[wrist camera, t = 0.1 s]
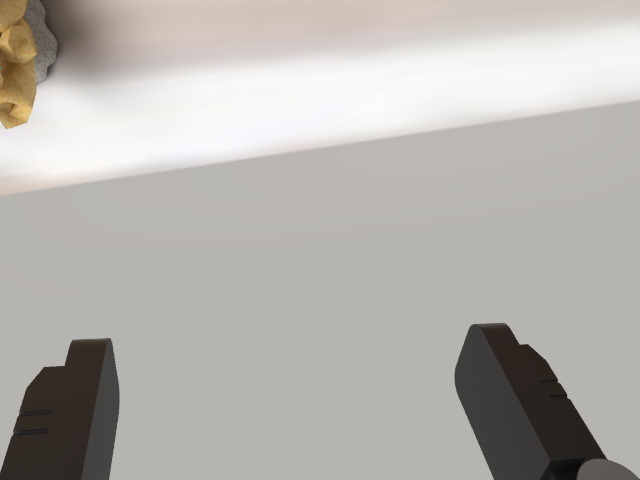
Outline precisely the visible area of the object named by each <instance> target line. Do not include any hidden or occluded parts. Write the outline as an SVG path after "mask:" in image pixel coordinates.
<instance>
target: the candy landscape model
mask: <svg viewBox="0 0 640 480" xmlns="http://www.w3.org/2000/svg"><path fill="white" fill-rule="evenodd" d="M45 15H46V11H45V8H44V6H43V5H42V3H41V2H40V1H39V0H0V121H1V123H2V124H3V125H4V127H5V128H6V129H9V128H12V127H15V126H18V125H21V124H23V123H26V122H27V120H28V117H29V115H30V113H31V110H32V107H33V103H34V99H35V95H36V84H38V83H39V82H41V81H43V80H44V79H45V78H46V77H47V68H48V66H49V65H51V64H52V63H53V62H55V60H56V51H57V47H58V43H57V41H56V39H55V37H54V36H53V34H52V33H51V32H50V30H49V29H48V28H47V26H46V25H45V21H44V20H45Z"/></svg>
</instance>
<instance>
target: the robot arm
mask: <svg viewBox="0 0 640 480" xmlns="http://www.w3.org/2000/svg"><path fill="white" fill-rule="evenodd" d="M455 386H456V391H457V394H458V396H459V399H460V401H461V403H462V406H463V408H464V410H465V413H466V415H467V417H468V420H469V422H470V424H471V427H472V429H473V431H474V434H475V436H476V438H477V441H478V443H479V445H480V448H481V450H482V452H483V455H484V457H485V459H486V462H487V464H488V466H489V469H490V471H491V473H492V476H493V478H494V480H640V479H639V478H638V477H637V476H636V475H635V474H634V473H632V472H631V471H630V470H629V469H627V468H626V467H624V466H622V465H620V464H618V463H615V462H613V461H610V460H608V459H607V458H606V457H605V455H604V454H603V452H602V451H601V449H600V447H599V446H598V444H597V442H596V441H595V439H594V437H593V436H592V434H591V433H590V431H589V430H588V428H587V426H586V425H585V423H584V421H583V420H582V418H581V416H580V415H579V413H578V411H577V410H576V408H575V407H574V405H573V404H572V402H571V400H570V399H568V398H567V394H566V392H565V390H564V389H563V387H562V386H561V384H560V383H558V379H557V377H556V376H555V374H554V372H553V371H552V369H551V368H550V366H549V364H548V363H547V361H546V360H545V359H544V358H543V357H541V356H540V355H539V354H538V353H537V352H536V351H535V350H534V349H533V348H531V347H530V346H529V345H528V344H525V345H519V343H518V341H517V340H516V338H515V336H514V334H513V333H512V331H511V329H510V328H509V326H508V325H507V324H505V323H491V324H473V325H471V326H470V328H469V330H468V333H467V336H466V339H465V342H464V345H463V347H462V350H461V353H460V356H459V359H458V362H457V365H456V368H455ZM19 412H20V414H19V416H18V418H17V421H16V424H15V428H14V430H13V432H14V433H13V436H12V437H11V440H10V444H9V446H8V450H7V453H6V456H5V459H4V463H3V466H2V469H1V472H0V480H109V477H110V469H111V463H112V456H113V449H114V442H115V436H116V429H117V422H118V415H119V383H118V377H117V370H116V364H115V358H114V352H113V345H112V341H111V339H110V338H106V339H83V340H82V339H81V340H72V342H71V344H70V347H69V351H68V355H67V359H66V362H65V366H56V367H44V368H43V369H42V370H41V371H40V373H39V374H38V375H37V376H36V377H35V379H34V380H33V381H32V382H31V383H30V385H29V386H28V387H27V389H26V392H25V395H24V398H23V401H22V405H21V408H20V411H19Z"/></svg>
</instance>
